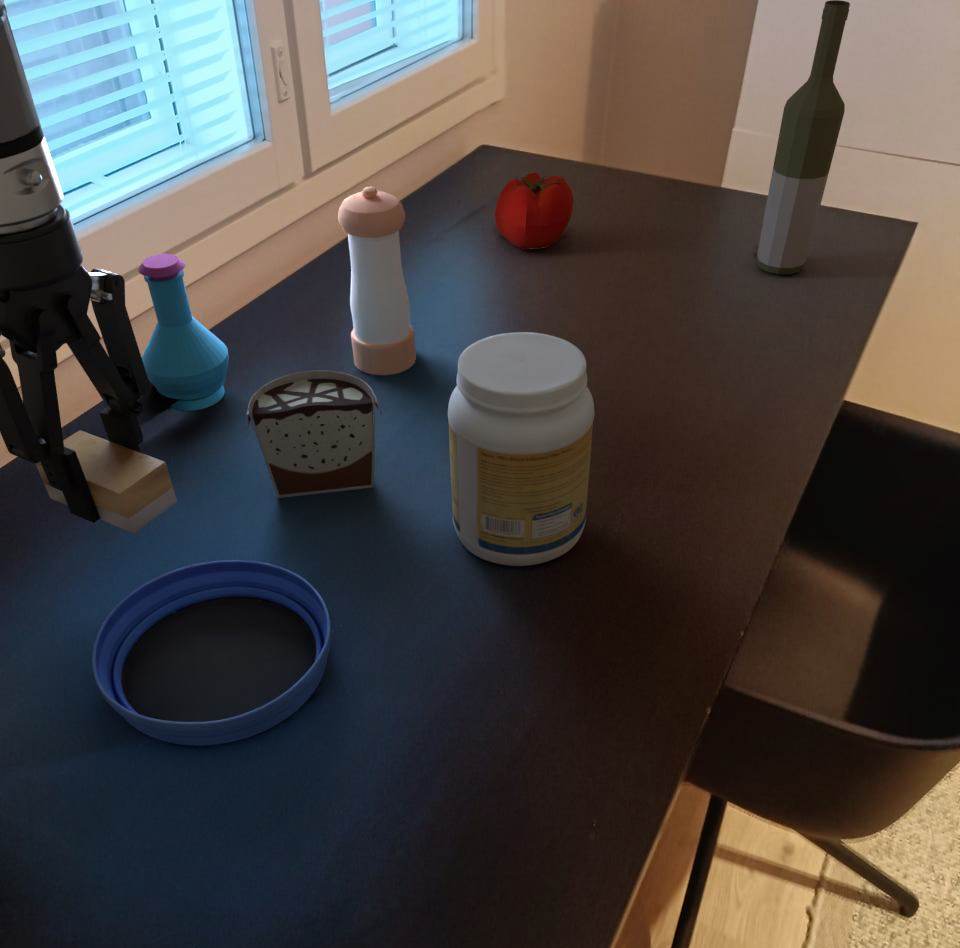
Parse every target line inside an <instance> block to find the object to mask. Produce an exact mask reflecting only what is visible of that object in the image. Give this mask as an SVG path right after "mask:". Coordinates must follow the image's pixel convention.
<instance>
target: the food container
mask: <svg viewBox="0 0 960 948" xmlns="http://www.w3.org/2000/svg"><path fill="white" fill-rule="evenodd" d="M376 409H377V410H378V412H379V415H381V416H382V415H383V413H382V410H381V406H380V403H379V401H378V397H377V396H376V394H375V393H374V390H373V389H372V387H371V386H370V385H369V384H368V383H367V382H366V381H364V380H363V379H361V378H360V377H357V376H356V375H353V374H349V373H346V372H342V371H336V370H328V369H317V370H303V371H298V372H294V373H293V372H292V373H289V374H286V375H282V376H280V377H277V378H275V379H272V380H271V381H269V382H267V383H265V384H264V385H262V386H260V388H258V389H257V390H256V391H254V393H253V395H252V396H251V397H250V399H249V402H248V405H247V409H246V413H245V414H246V415H245V416H246V417H245V419H246V420H245V421H246V425H245V426H246V427H245V428H246V429H249V426H250V422H251V424H252V426H253V430H254V433H255V436H256V438H257V441H258V444H259V448H260V450H261V453H262V457H263V459H264V463H265V466H266V468H267V471H268V474H269V478H270V480H271V484H272V487H273V489H274V492H275V495H276V497H277V499H281V498H290V497H291V498H292V497H299V496H309V495H318V494H328V493H337V492H344V491H345V492H346V491H353V490H363V489H372V488H375V448H376V447H375V445H376V444H375V441H376V440H375V438H376V437H375V436H376Z"/></svg>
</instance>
